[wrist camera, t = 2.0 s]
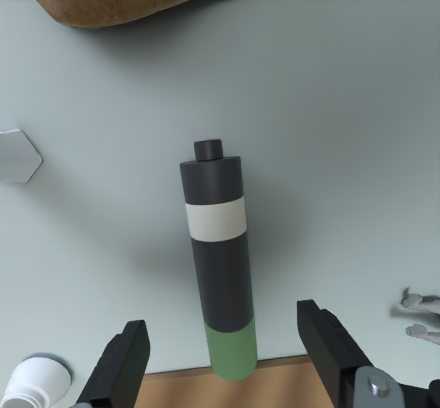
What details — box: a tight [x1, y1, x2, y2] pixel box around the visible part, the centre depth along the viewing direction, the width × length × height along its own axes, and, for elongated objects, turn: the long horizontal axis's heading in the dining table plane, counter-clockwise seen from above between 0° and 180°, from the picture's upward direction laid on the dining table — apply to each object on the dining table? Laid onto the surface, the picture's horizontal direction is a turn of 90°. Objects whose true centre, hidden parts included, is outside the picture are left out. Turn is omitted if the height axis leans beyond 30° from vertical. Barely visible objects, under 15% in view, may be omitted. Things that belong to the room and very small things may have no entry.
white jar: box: [0, 357, 71, 408], centre depth 19 cm, size 5×3×5 cm
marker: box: [180, 139, 257, 381], centre depth 16 cm, size 18×4×4 cm, turn 6°
